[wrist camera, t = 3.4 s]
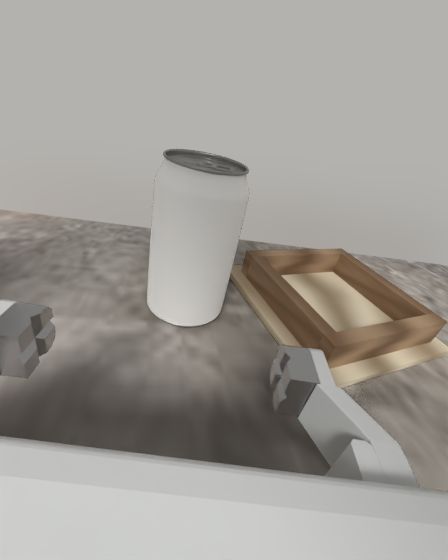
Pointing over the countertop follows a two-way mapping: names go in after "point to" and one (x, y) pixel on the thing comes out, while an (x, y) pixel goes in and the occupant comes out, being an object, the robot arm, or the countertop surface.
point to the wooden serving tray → (338, 311)
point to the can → (194, 234)
